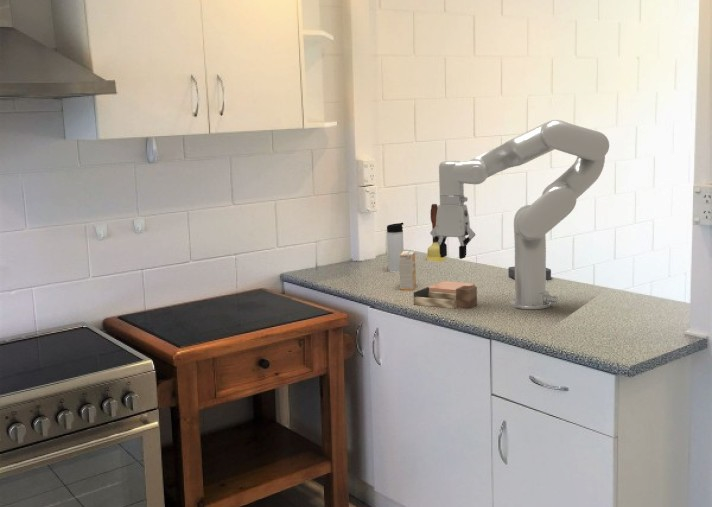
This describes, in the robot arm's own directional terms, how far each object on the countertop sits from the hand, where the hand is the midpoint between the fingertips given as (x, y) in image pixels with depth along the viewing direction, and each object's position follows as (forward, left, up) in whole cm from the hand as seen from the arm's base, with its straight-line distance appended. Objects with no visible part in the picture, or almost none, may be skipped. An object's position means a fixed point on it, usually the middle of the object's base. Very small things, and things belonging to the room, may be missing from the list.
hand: (452, 256), depth 253 cm
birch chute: (+5, 0, -16) cm, 16 cm away
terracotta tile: (+11, -18, -16) cm, 26 cm away
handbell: (+42, -64, -16) cm, 78 cm away
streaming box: (-7, -47, -16) cm, 50 cm away
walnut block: (-4, 0, -16) cm, 16 cm away
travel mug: (+45, -40, -16) cm, 62 cm away
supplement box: (+27, -16, -16) cm, 35 cm away
